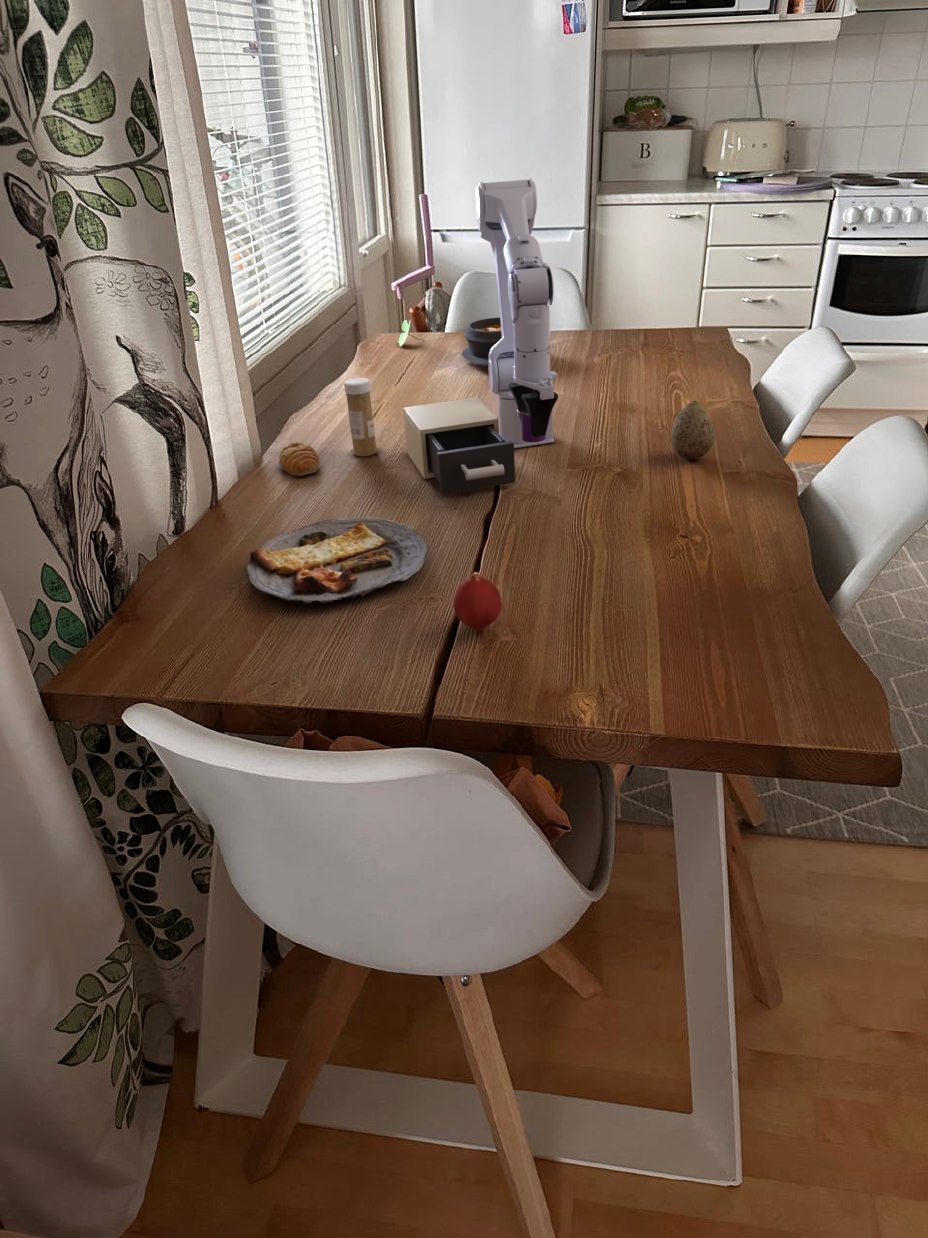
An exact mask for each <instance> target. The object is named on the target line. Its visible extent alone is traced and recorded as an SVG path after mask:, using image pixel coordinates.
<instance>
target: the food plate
mask: <svg viewBox="0 0 928 1238" xmlns="http://www.w3.org/2000/svg"><path fill="white" fill-rule="evenodd" d="M427 551H428V548H427V544H426V541H425V538H423V536H422V535H421V534H419V533H418V532H417V531H415V529H413V528H412V527H411V526H409V524H405V523H400V522H397V521H393V520H391V519H385V518H379V517H368V516H367V517H365V516H363V517H362V516H361V517H359V516H358V517H353V518H352V517H351V518H336V519H335V518H331V519H325V520H322V521H318V522H314V523H311V524H308V525H304V526H302V527H299V528H296V529H293V530H291V531H288V532H286V533H283V534H282V533H281V534H280V535H277V536H275V537H274V538H272V539H270V540H269V541H267V542H266V543H264V544H263V545H262V546H261V547H260V548H259V547H258V548H254V550H251V551H250V552H249V560H248V564H247V565H246V568H245V572H246V573H245V574H246V577H247V579H248V582H249V584H250V586H251V587H252V588H253V589H254V590H255V591H257V592H259V593H262V594H264V595H268V596H272V597H275V598H278V599H279V600H281V601H283V602H286V601H287V602H290V603H293V602H294V603H295V602H297V603H298V606H300V605H301V602H302V603H303V604H310V603H312V602H314V601H318V603H320V604H325V603H330V602H333V601H335V600H336V601H337V600H338V599H339V600H342V599H343V598H353V597H357V596H358V595H360V597H364V596H366V595H367V594H370V593H371V592H373V591H375V590H377V589H380V588H384V587H386V586H387V585H389V584H394V583H395V582H403V581H404V582H405V581H406V580H409V578H411V577H412V576H413V575H415V574H416V573H417V572H419V571H420V570H421V568H422V567H423V566H424V563H425V559H426V558H425V556H426V553H427ZM300 601H301V602H300Z"/></svg>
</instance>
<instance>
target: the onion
mask: <svg viewBox="0 0 928 1238" xmlns="http://www.w3.org/2000/svg"><path fill="white" fill-rule="evenodd" d="M452 603H453V604H452V605H453V609H454V613H455V616H456V618H457V619H458V620H459V621H460V622H461V623H462V624H464V625H465V626H467V627H469V628H470V629H471V628H472V629H473V631H475V632H482V631H484V630H485V629H486V628H487V627H490V625H491V624H493V623H494V622H495V621H497V619H498V617H499V615H500V614H501V612H502V606H503V603H502V597H501V593H500V590H499V589H498V588H497V586H496V585H495V584H494V583H493V582H491V581H490V580H489V579H488V578H486V577H484V576H482V575H481V574H480V573H479V572H478V571H474V572H473V573H472V574H471V575H470V577H468V578H466V579H465V580H464V581H462V582H461V583H460V585H459V586H458V587H457V589H456V591H455V593H454V595H453V602H452Z"/></svg>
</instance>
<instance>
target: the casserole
mask: <svg viewBox="0 0 928 1238" xmlns="http://www.w3.org/2000/svg"><path fill="white" fill-rule="evenodd" d="M465 330H466V331H465V332H464V334H463V337H464V338H465V339H466V342H467V347H466V348H464V349H463V350H462V352H461V356H462V357H463V358H464V359H466V360H467V361H470V362H471V363H472V364H473V365H475V366H477V367H478V366H479V367H489V358H488V356H489V352H490V349H491V348H492V347H493V346H494V345H495V344H496V343H497V342H498V341H500V340H501V339H502V332H501V321H500V316H499V317H488V318H484V319H479V320H475V321H472V322H470V323H469V324H468V325H467V326H466V329H465ZM508 357H514V356H508ZM500 358H504V357H500Z"/></svg>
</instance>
